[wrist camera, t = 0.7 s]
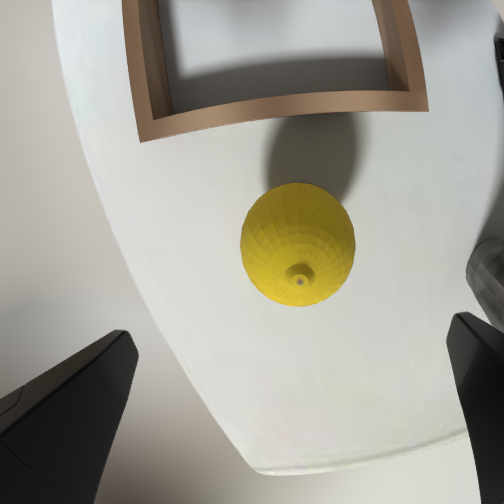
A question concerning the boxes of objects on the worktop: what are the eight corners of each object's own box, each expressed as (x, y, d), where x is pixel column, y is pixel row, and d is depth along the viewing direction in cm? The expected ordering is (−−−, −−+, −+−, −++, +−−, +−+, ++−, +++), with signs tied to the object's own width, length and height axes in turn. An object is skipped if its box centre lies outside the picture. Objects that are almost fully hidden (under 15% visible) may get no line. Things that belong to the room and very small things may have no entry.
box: (365, -60, 9) (374, -81, 6) (407, 111, 14) (428, 111, 12) (140, -28, 12) (120, -43, 9) (162, 138, 17) (140, 142, 14)
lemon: (348, 244, 18) (378, 323, 11) (266, 264, 20) (251, 348, 13) (329, 160, 16) (359, 192, 9) (239, 184, 18) (202, 233, 10)
